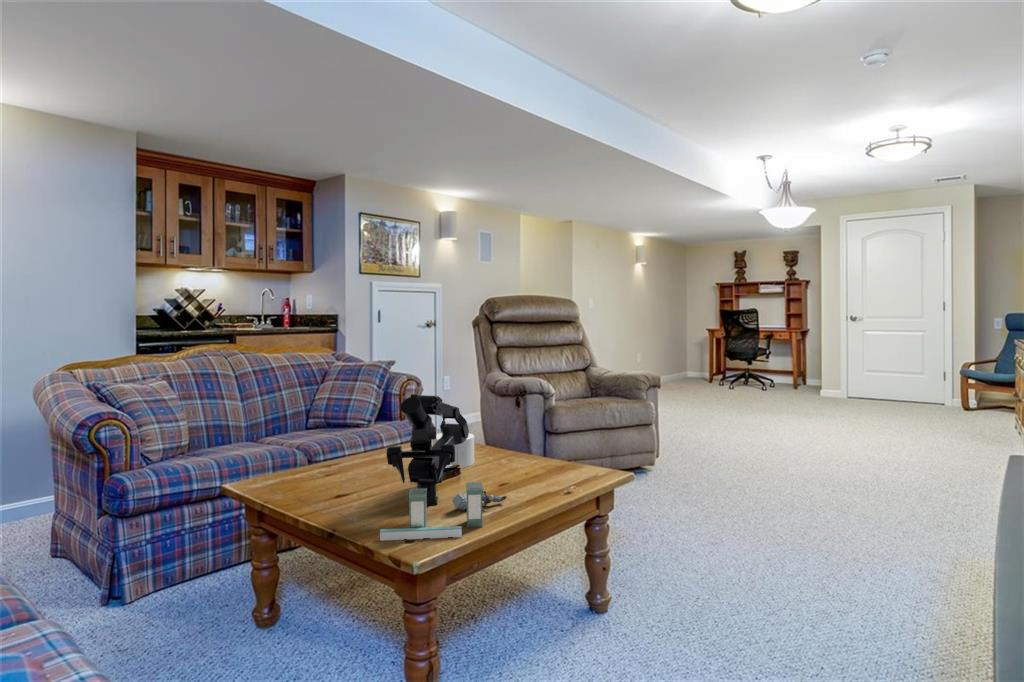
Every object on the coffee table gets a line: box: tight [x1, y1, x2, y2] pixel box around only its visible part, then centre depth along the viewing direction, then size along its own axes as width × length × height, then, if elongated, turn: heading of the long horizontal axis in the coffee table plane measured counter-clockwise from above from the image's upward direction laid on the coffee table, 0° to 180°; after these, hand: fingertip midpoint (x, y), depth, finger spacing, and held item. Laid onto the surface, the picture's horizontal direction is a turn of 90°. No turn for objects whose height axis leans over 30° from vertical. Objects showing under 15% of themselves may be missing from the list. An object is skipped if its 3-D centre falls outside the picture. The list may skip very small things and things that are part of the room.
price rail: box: [379, 525, 463, 542], centre depth 144 cm, size 1×20×2 cm, turn 96°
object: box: [432, 432, 475, 468], centre depth 218 cm, size 16×15×11 cm
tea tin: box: [408, 487, 428, 528], centre depth 148 cm, size 5×4×10 cm
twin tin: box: [465, 481, 484, 529], centre depth 154 cm, size 5×4×10 cm
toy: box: [452, 489, 507, 511], centre depth 168 cm, size 7×11×15 cm
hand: (420, 481), depth 156 cm, fingers open, 9 cm apart
